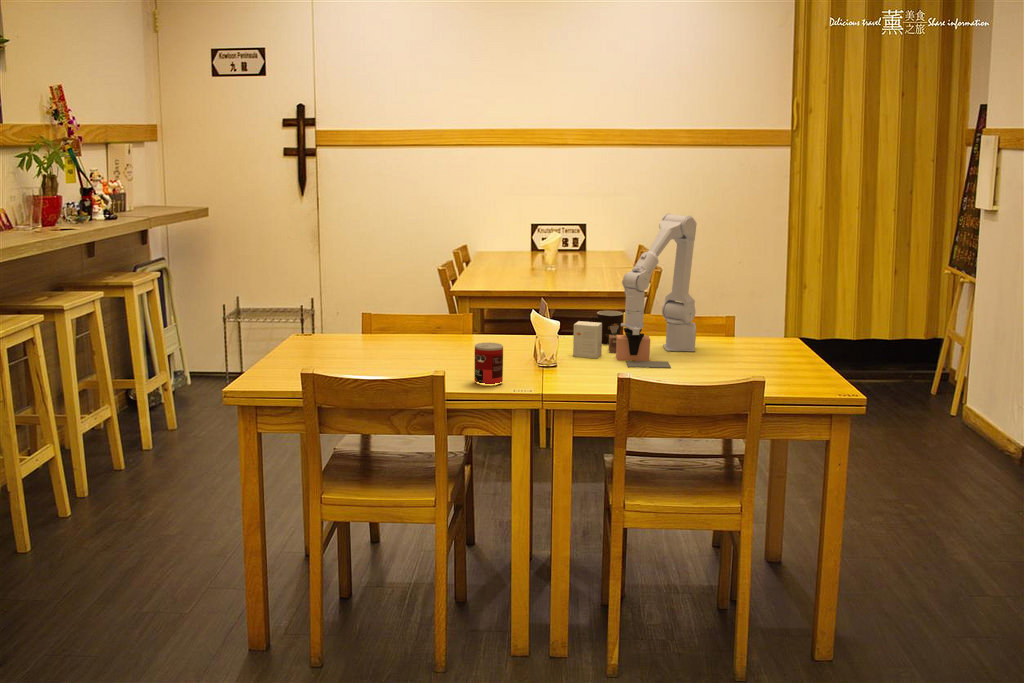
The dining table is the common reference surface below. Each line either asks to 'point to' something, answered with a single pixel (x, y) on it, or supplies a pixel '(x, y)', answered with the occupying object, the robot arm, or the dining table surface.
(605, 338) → the coffee mug
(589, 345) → the small box
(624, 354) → the pink rectangular block
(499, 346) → the canned food
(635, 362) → the mat
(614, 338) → the letter cube
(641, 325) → the robot arm
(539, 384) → the dining table surface
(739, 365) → the dining table surface
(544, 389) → the dining table surface
